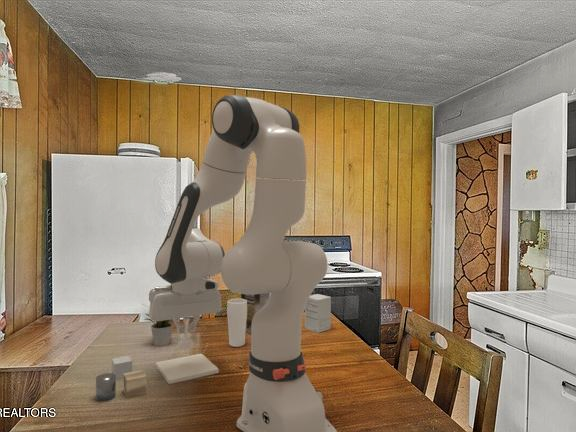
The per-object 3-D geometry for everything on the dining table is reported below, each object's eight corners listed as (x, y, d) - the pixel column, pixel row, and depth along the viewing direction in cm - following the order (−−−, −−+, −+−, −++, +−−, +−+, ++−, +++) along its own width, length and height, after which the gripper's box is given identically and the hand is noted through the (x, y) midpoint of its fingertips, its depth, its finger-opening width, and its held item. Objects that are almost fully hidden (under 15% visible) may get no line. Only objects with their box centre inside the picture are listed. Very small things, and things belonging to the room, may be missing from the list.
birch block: (146, 394, 98) (146, 376, 98) (126, 398, 96) (126, 380, 96) (142, 387, 102) (142, 369, 102) (123, 391, 100) (123, 373, 100)
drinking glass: (243, 349, 130) (243, 303, 130) (224, 347, 131) (224, 302, 131) (249, 342, 136) (249, 299, 136) (230, 340, 138) (231, 298, 138)
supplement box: (317, 325, 157) (317, 293, 157) (331, 329, 152) (331, 296, 152) (304, 328, 152) (304, 296, 152) (318, 333, 147) (318, 299, 147)
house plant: (194, 337, 141) (194, 292, 140) (176, 351, 127) (176, 301, 127) (157, 335, 143) (157, 290, 143) (135, 348, 129) (135, 299, 129)
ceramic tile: (218, 372, 111) (218, 369, 111) (168, 384, 104) (168, 380, 104) (201, 356, 123) (201, 353, 123) (155, 365, 116) (155, 362, 115)
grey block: (132, 377, 108) (132, 361, 108) (114, 381, 106) (114, 364, 106) (129, 371, 112) (129, 355, 112) (111, 374, 109) (111, 358, 109)
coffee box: (240, 331, 149) (240, 288, 148) (251, 326, 154) (251, 285, 154) (258, 335, 143) (259, 291, 143) (269, 331, 149) (269, 288, 148)
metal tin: (117, 398, 96) (117, 378, 96) (97, 403, 93) (97, 382, 93) (114, 391, 100) (114, 371, 99) (94, 395, 97) (94, 375, 97)
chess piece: (181, 342, 116) (182, 308, 116) (197, 343, 115) (198, 310, 115) (173, 348, 112) (174, 313, 111) (190, 350, 111) (190, 314, 110)
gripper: (151, 289, 105) (151, 341, 105) (223, 282, 116) (223, 329, 116) (146, 285, 110) (146, 334, 110) (215, 278, 121) (215, 323, 121)
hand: (186, 331), depth 113 cm, fingers closed on chess piece, 2 cm apart
